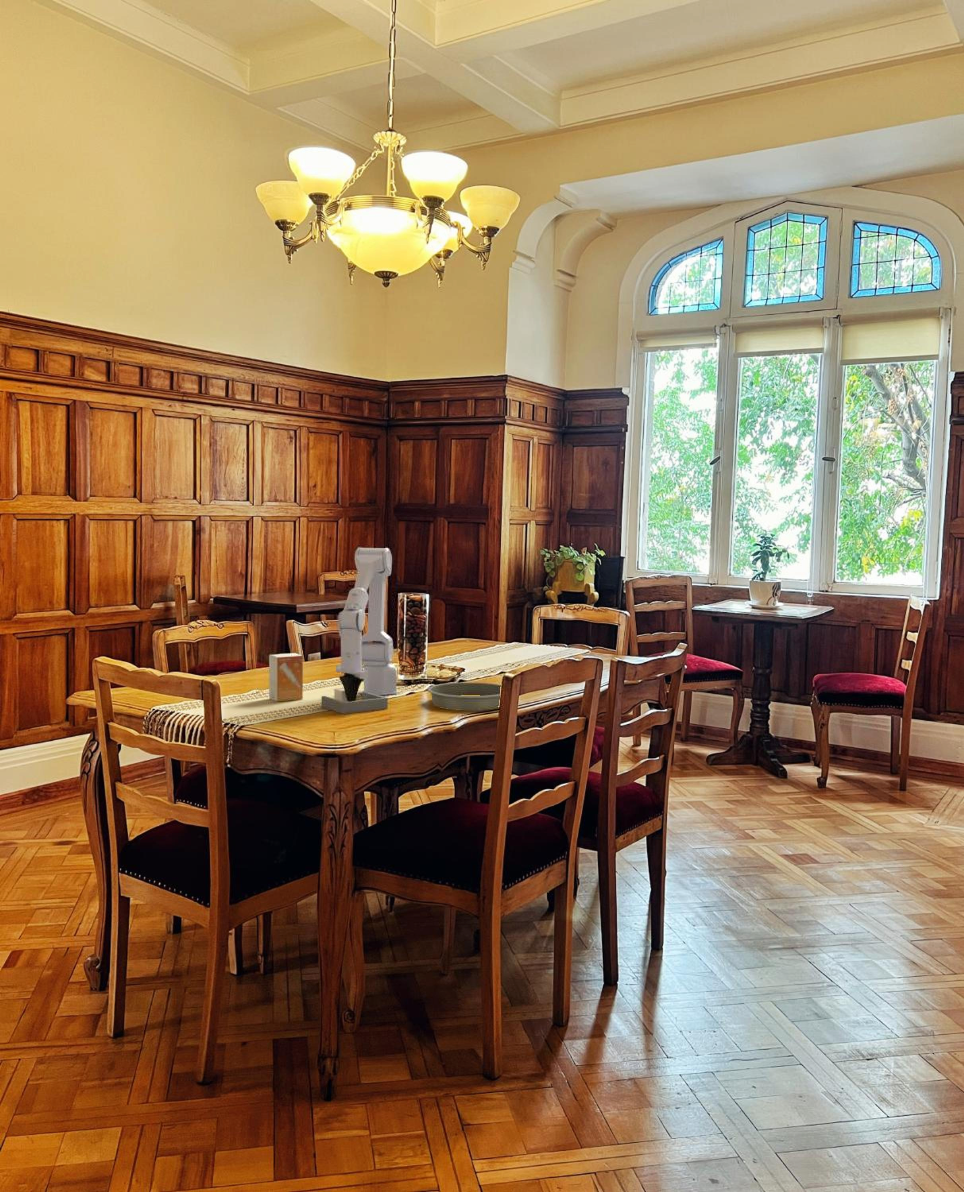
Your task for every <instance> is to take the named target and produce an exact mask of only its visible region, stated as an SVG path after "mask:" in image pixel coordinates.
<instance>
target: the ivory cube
mask: <svg viewBox="0 0 964 1192" xmlns="http://www.w3.org/2000/svg"><path fill="white" fill-rule="evenodd" d="M333 690H334V691H333V693H334V696H333V697H334V698H333V699H336V700H339V701H342V702H349V701H347V698H346V694H345V690H344V687H338V688H336V687H335V688H334V689H333Z"/></svg>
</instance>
